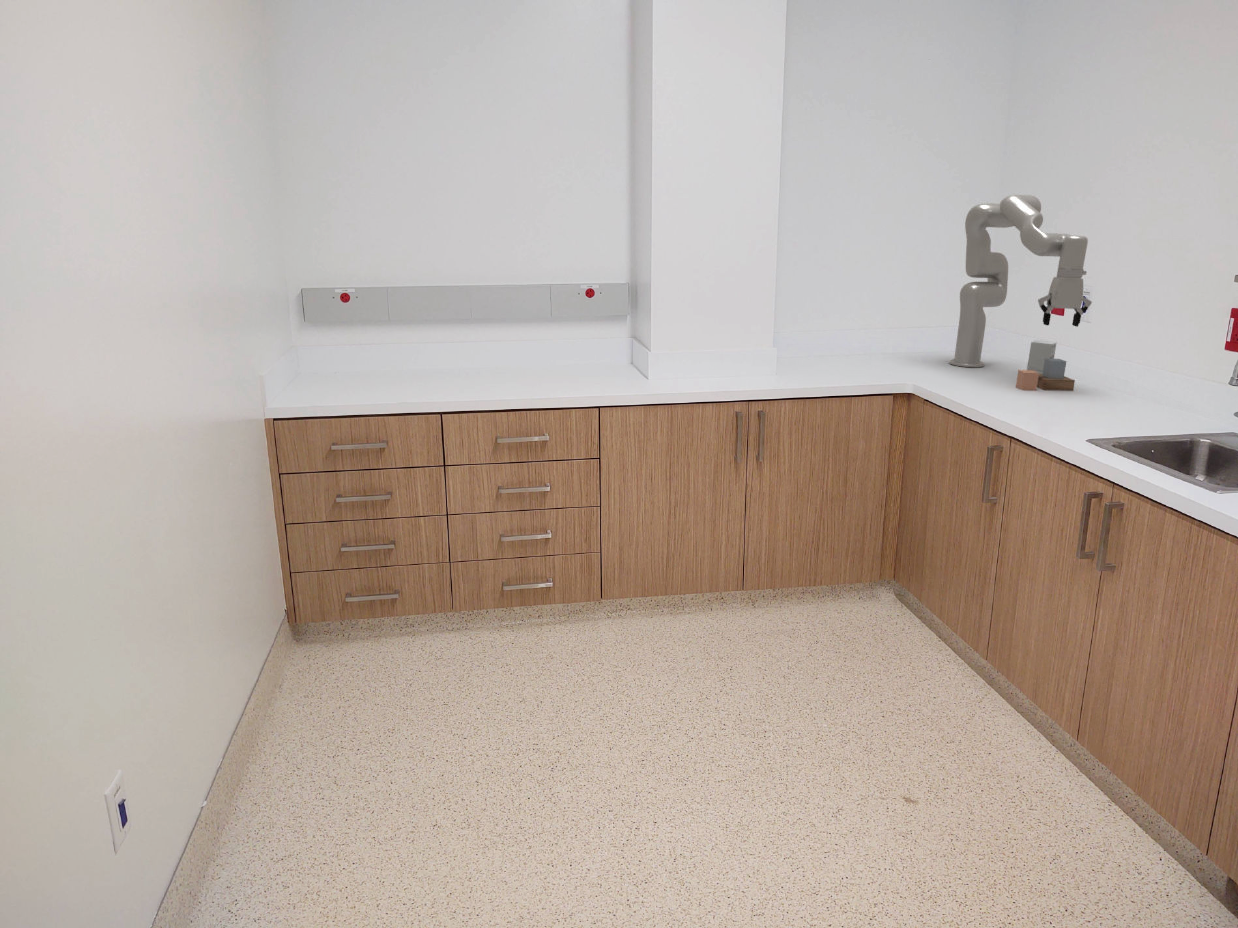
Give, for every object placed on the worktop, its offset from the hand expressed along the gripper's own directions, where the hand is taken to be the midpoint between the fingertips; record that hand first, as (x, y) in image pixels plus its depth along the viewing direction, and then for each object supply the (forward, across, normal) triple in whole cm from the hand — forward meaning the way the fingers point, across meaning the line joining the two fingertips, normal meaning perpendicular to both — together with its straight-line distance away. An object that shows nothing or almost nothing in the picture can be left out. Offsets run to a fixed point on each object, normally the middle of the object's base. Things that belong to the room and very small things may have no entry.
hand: (1060, 325), depth 309 cm
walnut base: (+22, 0, 0) cm, 22 cm away
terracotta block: (+21, +10, +4) cm, 24 cm away
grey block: (+18, 0, +1) cm, 18 cm away
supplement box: (+22, -4, -21) cm, 30 cm away
